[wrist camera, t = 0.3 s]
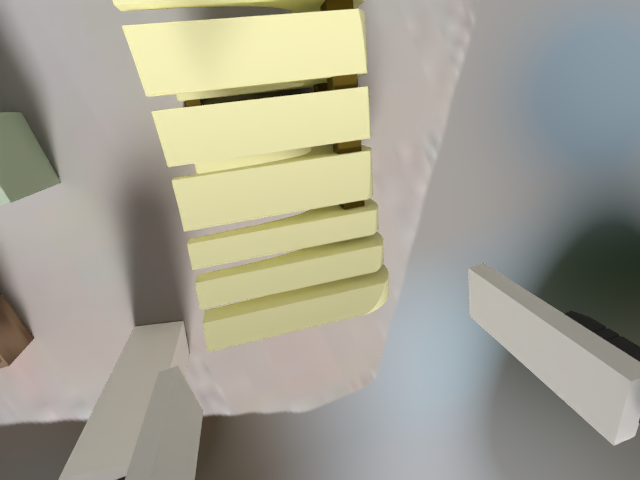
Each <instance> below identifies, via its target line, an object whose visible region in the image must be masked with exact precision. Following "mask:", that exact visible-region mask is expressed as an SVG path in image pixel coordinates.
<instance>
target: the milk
mask: <svg viewBox="0 0 640 480" xmlns="http://www.w3.org/2000/svg"><path fill="white" fill-rule="evenodd" d="M189 357H190V354H189V349H188V343H187V338H186V332H185V326H184V321H177V322H169V323H160V324H152V325H143V326H135V327H134V329H133V331H132V333H131V335H130V337H129V339H128V341H127V343H126V345H125V347H124V349H123V351H122V353H121V355H120V357H119V359H118V361H117V363H116V365H115V367H114V369H113V371H112V373H111V375H110V377H109V379H108V381H107V383H106V385H105V387H104V389H103V391H102V393H101V395H100V397H99V399H98V401H97V403H96V405H95V407H94V409H93V411H92V413H91V415H90V417H89V419H88V421H87V423H86V425H85V427H84V429H83V431H82V433H81V435H80V437H79V439H78V441H77V443H76V446H75V448H74V450H73V452H72V454H71V456H70V458H69V460H68V462H67V464H66V466H65V468H64V470H63V472H62V474H61V476H60V478H59V480H116V479H119V478H122V477H124V476H126V474H127V471H128V468H129V465H130V461H131V458H132V455H133V452H134V449H135V446H136V443H137V439H138V436H139V433H140V430H141V427H142V424H143V420H144V417H145V414H146V411H147V408H148V405H149V401H150V398H151V395H152V392H153V389H154V386H155V382H156V379H157V376H158V373H159V372H161V371H164V370H167V369H170V368H173V367H176V366H178V367H179V369H180V370H181V372H182V374H183V376H184V378H185V376H186V371H187V367H188V362H189Z"/></svg>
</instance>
